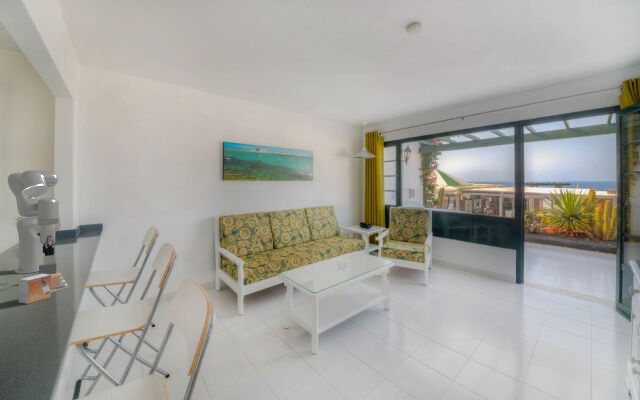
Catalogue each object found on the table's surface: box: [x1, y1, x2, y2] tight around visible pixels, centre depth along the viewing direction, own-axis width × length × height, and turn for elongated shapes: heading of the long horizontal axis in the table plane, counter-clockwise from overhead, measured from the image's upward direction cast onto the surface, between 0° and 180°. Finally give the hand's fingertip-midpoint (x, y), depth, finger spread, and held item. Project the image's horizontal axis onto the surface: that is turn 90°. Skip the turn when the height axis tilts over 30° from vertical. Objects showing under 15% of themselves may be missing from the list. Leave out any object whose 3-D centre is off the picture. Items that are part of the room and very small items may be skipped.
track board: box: [29, 271, 70, 293], centre depth 128 cm, size 33×11×1 cm, turn 53°
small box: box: [18, 273, 52, 305], centre depth 110 cm, size 8×6×10 cm
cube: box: [50, 273, 60, 287], centre depth 121 cm, size 5×5×5 cm
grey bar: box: [38, 262, 65, 289], centre depth 125 cm, size 22×8×8 cm, turn 53°
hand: (48, 254), depth 130 cm, fingers open, 9 cm apart
